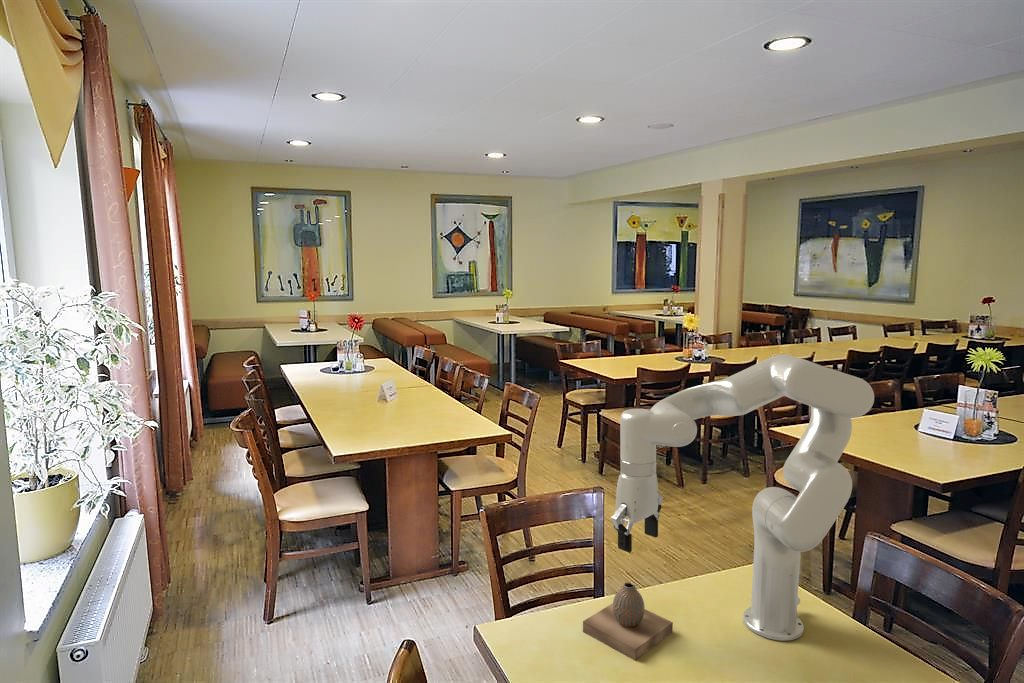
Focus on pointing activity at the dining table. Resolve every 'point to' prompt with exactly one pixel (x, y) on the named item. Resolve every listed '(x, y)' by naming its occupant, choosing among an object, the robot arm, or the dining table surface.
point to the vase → (628, 606)
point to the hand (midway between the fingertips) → (638, 542)
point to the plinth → (628, 632)
